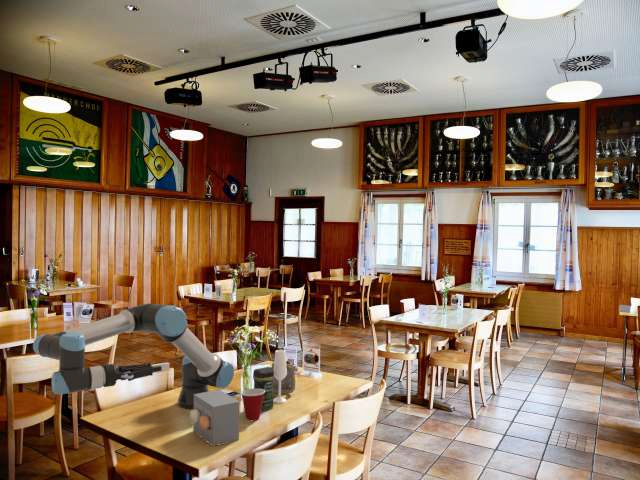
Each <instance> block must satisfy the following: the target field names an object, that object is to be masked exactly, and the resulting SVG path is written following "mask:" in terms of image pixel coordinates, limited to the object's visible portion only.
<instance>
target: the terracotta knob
mask: <svg viewBox="0 0 640 480" xmlns="http://www.w3.org/2000/svg"><path fill="white" fill-rule="evenodd" d="M210 426H211V418H210V417H208V416H207V415H205V416H201V417H200V418H199V427H200V429H201V430H202V431H204V430H208V429H209V428H210Z"/></svg>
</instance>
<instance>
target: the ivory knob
mask: <svg viewBox="0 0 640 480" xmlns="http://www.w3.org/2000/svg"><path fill="white" fill-rule="evenodd" d="M200 417H201V411H199V410H198V409H195V410H194V409H190V412H189V420H190V423H191V424H192V425H193V424H195V423H199V418H200Z"/></svg>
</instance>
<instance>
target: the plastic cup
mask: <svg viewBox="0 0 640 480" xmlns="http://www.w3.org/2000/svg"><path fill="white" fill-rule="evenodd" d="M264 393H265V390H263V389H254V388H248V389H243V390H242V391H240V396H241V399H242V402H243V403H242V404H243V408H244V415H245V419H246V421H251V422H252V421H253V422H254V421H258V420H260V416H261V412H262V411H261V408H262V402H263V397H264Z"/></svg>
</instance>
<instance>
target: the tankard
mask: <svg viewBox="0 0 640 480" xmlns="http://www.w3.org/2000/svg"><path fill="white" fill-rule="evenodd" d="M286 367H287V375H286V377H285V378H284V379H283V380H281V395H282V394H289V393H293V392H294V391H295V390H296V376H295V375H296V374H295V373H296V372H298V371H299V368H298V367H297V365H294V362H293V361H291V360H286ZM271 368H273V370H274V361H273V362H272V363H271ZM278 391H279V380H277V379H276V378H275V377H274V379H273V394H278Z"/></svg>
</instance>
